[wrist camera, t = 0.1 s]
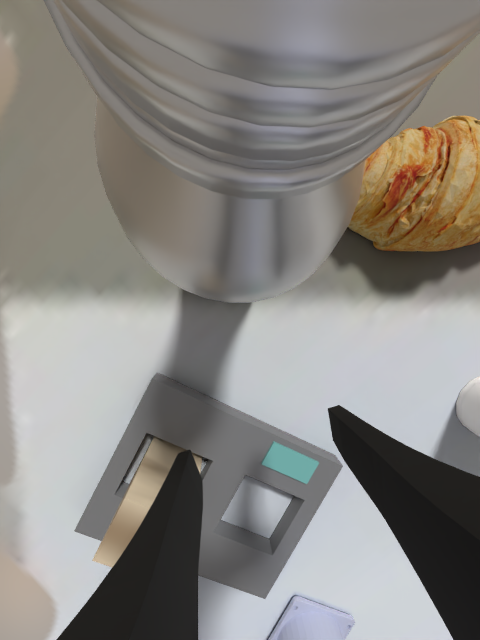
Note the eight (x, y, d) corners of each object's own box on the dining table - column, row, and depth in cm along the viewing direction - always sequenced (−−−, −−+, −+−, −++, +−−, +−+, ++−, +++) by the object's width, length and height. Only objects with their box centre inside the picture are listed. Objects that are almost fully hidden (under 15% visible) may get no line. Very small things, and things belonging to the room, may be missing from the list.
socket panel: (262, 580, 24) (265, 601, 23) (84, 515, 22) (72, 533, 20) (335, 455, 23) (344, 467, 22) (157, 372, 21) (151, 379, 19)
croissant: (280, 222, 24) (293, 242, 17) (313, 92, 18) (351, 48, 12) (462, 257, 25) (539, 288, 19) (544, 147, 20) (693, 136, 13)
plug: (179, 495, 23) (161, 584, 16) (133, 476, 22) (92, 560, 15) (202, 453, 22) (193, 524, 15) (155, 433, 22) (124, 498, 15)
